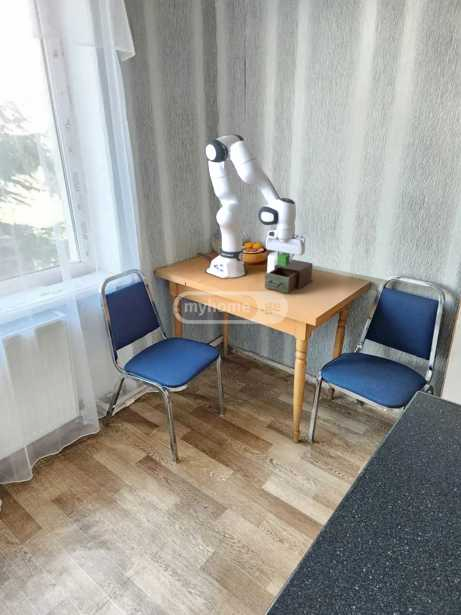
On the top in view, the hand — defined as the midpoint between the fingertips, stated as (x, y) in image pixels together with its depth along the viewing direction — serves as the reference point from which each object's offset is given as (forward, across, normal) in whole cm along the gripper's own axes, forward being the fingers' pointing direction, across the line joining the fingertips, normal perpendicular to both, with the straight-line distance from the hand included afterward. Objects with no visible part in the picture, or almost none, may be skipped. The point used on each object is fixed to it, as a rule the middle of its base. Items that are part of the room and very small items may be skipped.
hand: (284, 260), depth 197 cm
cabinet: (+15, +1, -12) cm, 19 cm away
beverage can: (+15, +14, -15) cm, 25 cm away
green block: (+2, 0, 0) cm, 2 cm away
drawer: (+14, +1, +2) cm, 14 cm away
